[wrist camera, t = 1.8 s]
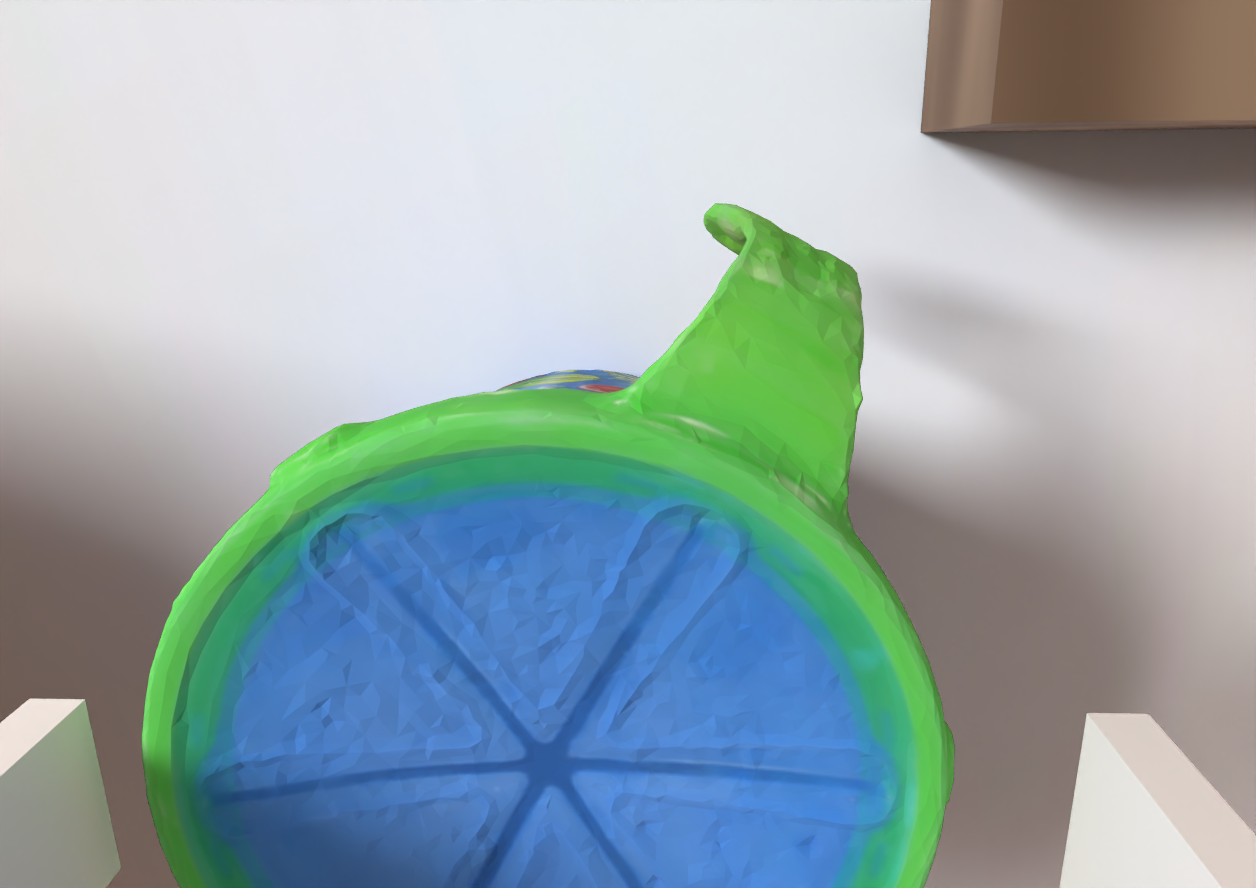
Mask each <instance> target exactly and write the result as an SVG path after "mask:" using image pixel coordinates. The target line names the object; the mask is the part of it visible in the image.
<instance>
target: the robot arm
mask: <svg viewBox="0 0 1256 888" xmlns="http://www.w3.org/2000/svg"><path fill="white" fill-rule="evenodd" d="M120 869H121V864H120V860H119V855H118V850H117V846H116V841H115V836H114V832H113V827H112V822H111V818H110V813H109V809H108V804H107V799H106V795H105V790H104V785H103V781H102V776H101V771H100V767H99V762H98V757H97V753H96V748H95V743H94V739H93V734H92V729H91V725H90V720H89V715H88V711H87V706H86V701H85V699H28V700H27V701H26V702H25V703H24V704H22V705H21V706H20V707H19V708H18V709H16V710H15V711H14V712H13V713H12V714H10V715H9V716H8V717H7V718H5V719H4V720H3V721H2V722H1V723H0V888H106V887H107V886H108V885H109V883H110V882H111V881H112V879H113V878H114V877H115V876H116V874H117V873H118V872H119V870H120ZM1060 888H1256V835H1255V834H1254V833H1253V831H1252V830H1251V829H1250V828H1249V827H1248V826H1247V825H1246V823H1245V822H1244V821H1243V820H1242V819H1241V818H1240V817H1239V816H1238V814H1237V813H1236V812H1235V811H1234V810H1233V809H1232V808H1231V807H1230V805H1229V804H1228V803H1227V802H1226V801H1225V800H1224V799H1223V797H1222V796H1221V795H1220V794H1219V793H1218V792H1217V791H1216V790H1215V788H1214V787H1213V786H1212V785H1211V784H1210V783H1209V782H1208V780H1207V779H1206V778H1205V777H1204V776H1203V775H1202V774H1201V773H1200V771H1199V770H1198V769H1197V768H1196V767H1195V766H1194V765H1193V764H1192V762H1191V761H1190V760H1189V759H1188V758H1187V757H1186V756H1185V754H1184V753H1183V752H1182V751H1181V750H1180V749H1179V748H1178V747H1177V745H1176V744H1175V743H1174V742H1173V741H1172V740H1171V739H1170V737H1169V736H1168V735H1167V734H1166V733H1165V732H1164V731H1163V730H1162V728H1161V727H1160V726H1159V725H1158V724H1157V723H1156V722H1155V721H1154V719H1153V718H1152V717H1151V716H1150V715H1149V714H1131V713H1087V716H1086V722H1085V729H1084V735H1083V741H1082V748H1081V754H1080V760H1079V767H1078V773H1077V779H1076V786H1075V792H1074V799H1073V805H1072V811H1071V818H1070V824H1069V830H1068V837H1067V843H1066V849H1065V856H1064V862H1063V869H1062V875H1061V881H1060Z"/></svg>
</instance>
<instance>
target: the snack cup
mask: <svg viewBox="0 0 1256 888" xmlns="http://www.w3.org/2000/svg"><path fill="white" fill-rule="evenodd" d="M704 225H705V227H706V229H707V230H708V231H709V232H710V233H711V234H712V236H713V238H715V239H716V240H717V241H718V242H720V243H721V244H723V245H724V246H725V247H727V248H728V249H729V250H731V251H733V252H734V253H736V254H738V255H739V256H738V258H737V259H736V260H735V261H734V262H733V263H732V265H731V266H730V268H729V269H728V271H727V272H726V274H725V275H724V277H723V278H722V280H721V281H720V283H719V285H718V287H717V290H716V292H715V293H714V295H713V296H712V297H711V299H710V300H709V301H708V303H707V304H706V306H705V307H704V308H703V310H702V311H701V313H700V314H699V315H698V317H697V318H696V319H695V320H694V321H693V322H692V324H691V325H690V326H689V327H688V328H687V329H685V330H684V331H683V332H682V333H681V334H680V335H679V336H678V337H677V339H676V340H675V341H674V343H673V344H672V346H671V347H670V348H669V349H668V350H667V351H666V353H665V354H664V355H663V356H662V357H661V358H660V359H659V360H657V361H656V362H655V363H654V364H653V365H651V366H650V367H649V368H648V369H647V370H646V371H645V373H644V374H643V375H642V376H641V377H637V376H633V375H629V374H624V373H618V372H610V371H604V370H568V371H558V372H552V373H549V374H545V375H540V376H536V377H532V378H529V379H526V380H522V381H519V382H516V383H513V384H511V385H508V386H505V387H503V388H501V389H499V390H496V391H494V392H482V393H477V394H472V395H467V396H462V397H455V398H450V399H447V400H443V401H440V402H436V403H432V404H428V405H424V406H421V407H417V408H414V409H411V410H408V411H404V412H401V413H398V414H395V415H392V416H389V417H386V418H384V419H381V420H377V421H371V422H364V423H349V424H343V425H341V426H338V427H336V428H334V429H332V430H331V431H329V432H327V433H326V434H324V435H322V436H321V437H319V438H317V439H315V440H314V441H312V442H310V443H309V444H307V445H306V446H304V447H303V448H301V449H300V450H299V451H297V452H296V453H295V454H293V455H292V456H291V457H289V458H288V459H286V460H285V461H284V462H282V463H281V464H280V465H278V466H277V467H276V468H275V470H274V471H273V472H272V474H271V475H270V487H269V489H268V490H267V492H266V493H265V494H264V495H263V496H262V497H261V498H260V499H259V500H258V501H257V502H256V503H255V504H254V505H253V506H252V507H251V508H250V509H249V510H248V511H247V512H246V513H245V514H244V515H243V516H242V517H241V518H240V519H239V520H238V521H237V522H236V523H235V524H234V525H233V526H232V527H231V528H230V529H229V530H228V531H227V532H226V533H225V535H224V536H223V538H222V539H221V540H220V541H219V542H218V543H217V544H216V546H215V547H214V548H213V549H212V551H211V552H210V553H209V555H208V556H207V557H206V559H205V560H204V561H203V562H202V564H201V565H200V566H199V567H198V568H197V570H196V571H195V572H194V574H193V575H192V577H191V579H190V580H189V581H188V583H187V584H186V585H185V586H184V587H183V588H182V590H181V592H180V594H179V596H178V597H177V598H176V599H175V601H174V602H173V606H172V611H171V613H170V615H169V617H168V619H167V621H166V623H165V626H164V629H163V632H162V635H161V638H160V641H159V644H158V647H157V650H156V654H155V657H154V660H153V664H152V667H151V670H150V674H149V680H148V687H147V694H146V700H145V709H144V720H143V731H142V757H143V767H144V774H145V781H146V791H147V798H148V804H149V806H150V809H151V813H152V817H153V821H154V825H155V827H156V830H157V834H158V838H159V842H160V845H161V847H162V849H163V851H164V854H165V856H166V858H167V861H168V863H169V866H170V869H171V871H172V873H173V875H174V877H175V879H176V880H177V882H178V884H179V886H180V888H924V885H925V883H926V880H927V877H928V874H929V872H930V869H931V866H932V863H933V860H934V857H935V853H936V848H937V845H938V842H939V839H940V835H941V831H942V825H943V818H944V812H945V806H946V803H947V802H948V801H949V798H950V794H951V790H952V785H953V780H954V754H955V747H954V742H953V736H952V733H951V731H950V729H949V727H948V725H947V724H946V722H945V721H944V717H943V709H942V702H941V699H940V696H939V693H938V690H937V686H936V683H935V680H934V677H933V674H932V670H931V667H930V664H929V661H928V659H927V656H926V654H925V652H924V649H923V647H922V644H921V642H920V640H919V637H918V635H917V633H916V631H915V629H914V627H913V625H912V623H911V621H910V619H909V616H908V615H907V613H906V611H905V609H904V607H903V605H902V603H901V601H900V599H899V597H898V595H897V593H896V592H895V590H894V589H893V587H892V585H891V584H890V582H889V581H888V579H887V577H886V576H885V574H884V572H883V571H882V569H881V568H880V566H879V565H878V563H877V562H876V560H875V559H874V557H873V556H872V554H871V553H870V552H869V551H868V549H867V548H866V547H865V546H864V544H863V543H862V542H861V541H860V539H859V538H858V537H857V536H856V534H855V532H854V529H853V527H852V524H851V521H850V518H849V515H848V509H847V497H848V494H849V490H848V483H847V480H848V476H849V468H850V462H851V458H852V453H853V447H854V437H855V428H856V420H857V414H858V410H859V407H860V405H861V403H862V400H863V396H862V392H861V386H860V368H861V364H862V360H863V348H864V327H863V316H862V310H861V299H862V295H861V288H860V286H859V283H858V277H857V273H856V271H855V270H854V269H853V268H852V267H851V266H850V265H848V264H847V263H845V262H843V261H842V260H840V259H838V258H837V257H835V256H834V255H832V254H830V253H828V252H827V251H822V250H818V249H815V248H814V247H812V246H811V245H809V244H808V243H806V242H804V241H803V240H801V239H799V238H798V237H796V236H794V235H791V234H789V233H787V232H784V231H783V230H782V229H780V228H779V227H777V226H776V225H775V224H773V223H772V222H771V221H769V220H767V219H765V218H763V217H761V216H759V215H757V214H755V213H753V212H751V211H748V210H746V209H744V208H741V207H739V206H737V205H731V204H720V203H715V204H714V205H713V206H712V207H711V208H710V209H709V210H708V211H707V212H706V213H705V215H704Z"/></svg>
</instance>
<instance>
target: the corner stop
mask: <svg viewBox="0 0 1256 888" xmlns="http://www.w3.org/2000/svg"><path fill="white" fill-rule="evenodd" d="M1223 128H1256V0H931V9H930V21H929V34H928V47H927V59H926V72H925V85H924V97H923V110H922V123H921V133H923V132H998V131H1073V130H1148V129H1223Z"/></svg>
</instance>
